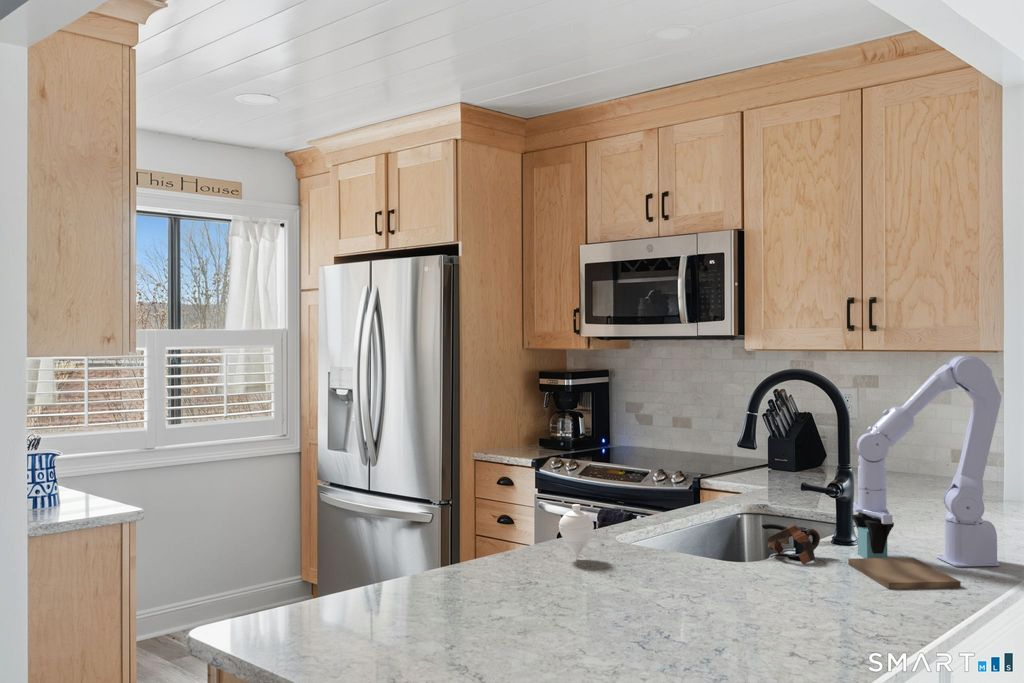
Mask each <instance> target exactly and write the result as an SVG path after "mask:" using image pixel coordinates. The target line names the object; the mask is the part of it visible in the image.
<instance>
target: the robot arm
mask: <svg viewBox="0 0 1024 683" xmlns="http://www.w3.org/2000/svg"><path fill="white" fill-rule="evenodd" d="M959 387H961V389H963V390H964V392H965V393H966V394H967V395H968V396H969V398H970V399H971V400H972V402H973V403H972V406H971V410H970V416H969V419H968V424H967V427H966V428H967V429H966V432H965V437H964V439H963V440H964V441H963V445H962V449H961V455H960V457H959V462H958V466H957V471H956V473H955V475H954V476H953V479H952V480H951V481H952V482H951V485H950V486H949V488H947V490H946V491H945V493H944V495H943V504H944V506H945V508H946V509H947V510H948V511H947V514H946V515H945V516H944V554H937V555H936V558H937V559H940V560H941V561H944V562H945V563H948V564H950V565H952V566H954V567H957V568H958V567H999V566H1000V563H999V562H998V534H997V530H996V527H995V525H994V524H993V523H992V522H991V521H990V520H986V519H985V520H984V519H983V518H982V517H983V515H984V513H985V503H984V500H983V494H984V483H983V482H984V481H983V479H984V476H985V475H984V474H985V470H986V467H987V466H986V465H987V462H988V458H989V454H990V449H991V445H992V441H993V437H994V432H995V427H996V423H997V420H998V419H997V418H998V414H999V411H1000V407H1001V403H1002V395H1001V393H1000V390H999V387H998V385H997V383H996V381H995V379H994V375H993V371H992V368H990V366H988V365H987V364H986V363H985V361H983V360H982V359H981V358H979V357H977V356H974V355H965V354H958V355H955V356H953V357H951V358H950V359H949V360H948V361H947V363H946V364H943V365H942V366H940V367H938V369H937V370H936V371H935V372H933V373H932V374H931V375H930V376H929V377H928V378H927V379H926V380H925V381H924V383H922V385H920V387H919V388H918V389H917V390H916V391H915V392H914V393H913V394H912V395H911V396H910V397H909V399H908V400H906V401H905V403H904V404H903V405H902V406H893V407H891V408H890V409H889V410H888V409H884V411H882V414H883V416H882V417H881V418H880V419H879V420H878V421H877V422H876V423H875V424H874V425H873V426H868V427H867V430H866V431H868V432H867V433H864V434H862V435H861V436H860V437H859V438H858V439H857V443H856V444H855V447H856V451H857V453H858V454H859V455H858V459H857V462H858V466H857V493H858V494H857V497H858V498H857V501H854V502H853V507H852V511H853V512H855V513H857V514H852V515H851V518H852V520H853V522H854V525H855V526H856V528H857V529H856V530H858V527H867V528H868V531H869V535H870V541H871V548H872V552H873V553H883V552H884V548H885V544H886V541H887V542H888V537H889V535H890V533H891V531H892V530H893V528H894V527H895V523H894V522H893V514H892V513H890V511H889V510H888V508H887V467H886V457H887V456H888V455H889V454H888V453H889V448H890V447H893V446H894V445H895V444H896V443H898V441H899V440H901V439H902V437H904V436H905V435H906V433H908V432H909V431H910V430H912V428H913V427H914V425H915V423H914V421H915V420H914V419H915V418H914V417H915V416H916V415H917V414H919V413H920V412H921V411H922V410H924V409H925V407H926V406H928V405H929V403H931V402H932V401H933V400H934V399H935V398H936V397H937V396H939V394H941V393H942V392H944V391H950V390H954V389H958V388H959Z"/></svg>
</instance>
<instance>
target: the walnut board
mask: <svg viewBox="0 0 1024 683" xmlns="http://www.w3.org/2000/svg"><path fill="white" fill-rule="evenodd" d="M847 561H848V565H849V566H850V567H852V568H854V569H855V570H857V571H858V572H860V573H862V574H863V575H865V576H867V577H868V578H870V579H872V580H873V581H874V582H876V583H878V584H880V585H882V586H883V587H885V588H886V589H888V590H905V589H906V590H907V589H909V588H910V589H909V590H911V589H912V590H915V589H914V588H918V590H919V588H921V589H958V588H959V589H961V587H962V586H961V581H960V580H958V579H957V578H955V577H953V576H951V575H949V574H947V573H945V572H942V571H941V570H939V569H937V568H935V567H932V566H931V565H929V564H926V563H924V562H923V561H921V560H919V559H917V558H915V557H888V558H864V557H862V558H861V557H860V558H848V560H847Z"/></svg>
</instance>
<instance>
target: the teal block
mask: <svg viewBox="0 0 1024 683" xmlns="http://www.w3.org/2000/svg"><path fill="white" fill-rule="evenodd" d="M857 554H858V556H861V557H862V558H889V557H888V540H887V541H886V544H885V548H884V552H883V553H873V552H872V548H871V541H870V535H869V531H868V528H867V527H858V529H857Z"/></svg>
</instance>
